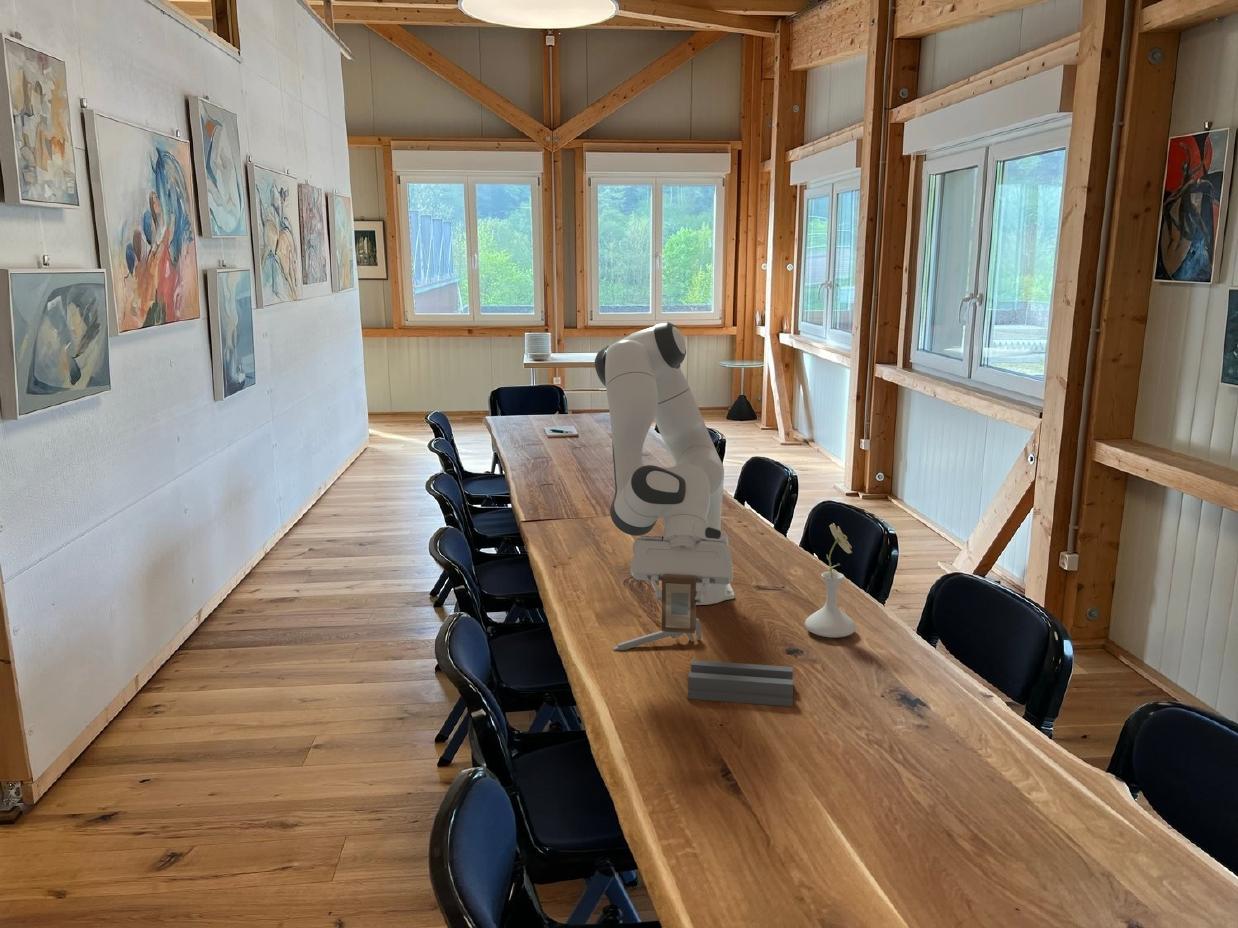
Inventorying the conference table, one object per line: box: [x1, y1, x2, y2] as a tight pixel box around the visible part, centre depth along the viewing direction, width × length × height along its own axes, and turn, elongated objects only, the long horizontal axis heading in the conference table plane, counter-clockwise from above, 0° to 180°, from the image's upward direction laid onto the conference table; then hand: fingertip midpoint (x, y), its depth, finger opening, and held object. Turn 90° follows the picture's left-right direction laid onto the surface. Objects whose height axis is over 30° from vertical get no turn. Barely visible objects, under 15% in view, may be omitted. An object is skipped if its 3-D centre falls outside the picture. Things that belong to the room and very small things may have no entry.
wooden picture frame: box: [661, 574, 697, 634], centre depth 176 cm, size 3×6×11 cm, turn 79°
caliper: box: [611, 618, 702, 652], centre depth 199 cm, size 20×1×6 cm, turn 106°
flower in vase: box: [804, 522, 857, 639], centre depth 205 cm, size 13×11×25 cm
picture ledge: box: [686, 659, 794, 707], centre depth 177 cm, size 10×20×4 cm, turn 80°
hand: (678, 600), depth 175 cm, fingers closed on wooden picture frame, 6 cm apart
